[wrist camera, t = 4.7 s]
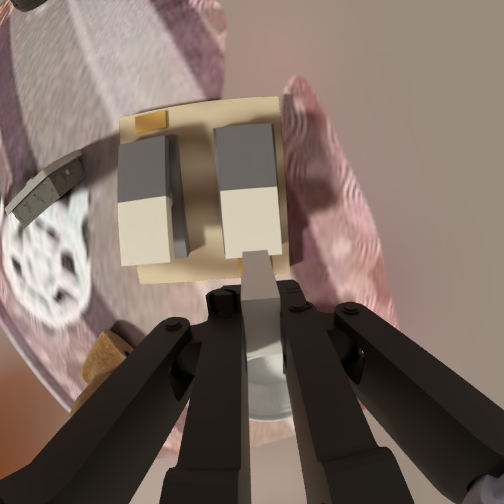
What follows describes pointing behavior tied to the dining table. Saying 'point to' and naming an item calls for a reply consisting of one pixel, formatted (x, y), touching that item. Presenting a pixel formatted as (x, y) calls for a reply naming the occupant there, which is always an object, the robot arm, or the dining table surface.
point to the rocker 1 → (145, 202)
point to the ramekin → (268, 389)
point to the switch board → (204, 184)
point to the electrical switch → (46, 188)
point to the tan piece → (101, 363)
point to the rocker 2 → (248, 189)
